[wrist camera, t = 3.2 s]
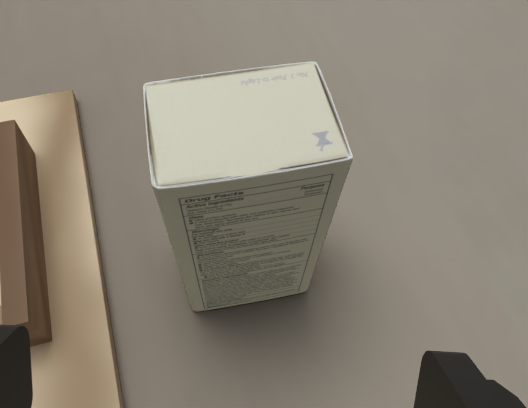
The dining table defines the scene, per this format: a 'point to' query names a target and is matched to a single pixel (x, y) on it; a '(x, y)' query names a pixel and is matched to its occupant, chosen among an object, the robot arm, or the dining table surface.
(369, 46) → the dining table surface
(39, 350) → the carrier plate
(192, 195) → the skincare box
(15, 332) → the robot arm
